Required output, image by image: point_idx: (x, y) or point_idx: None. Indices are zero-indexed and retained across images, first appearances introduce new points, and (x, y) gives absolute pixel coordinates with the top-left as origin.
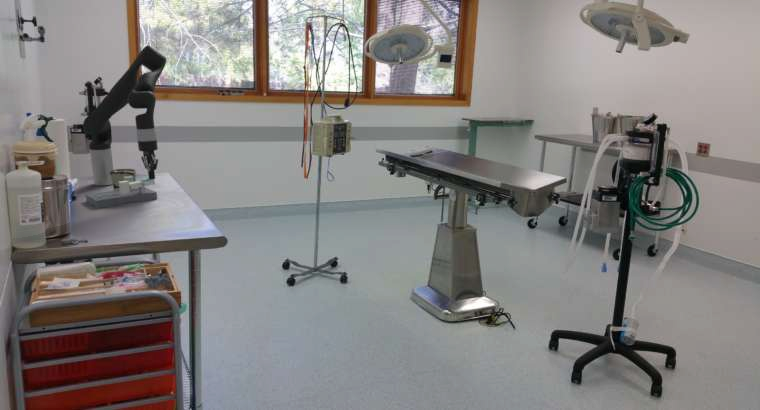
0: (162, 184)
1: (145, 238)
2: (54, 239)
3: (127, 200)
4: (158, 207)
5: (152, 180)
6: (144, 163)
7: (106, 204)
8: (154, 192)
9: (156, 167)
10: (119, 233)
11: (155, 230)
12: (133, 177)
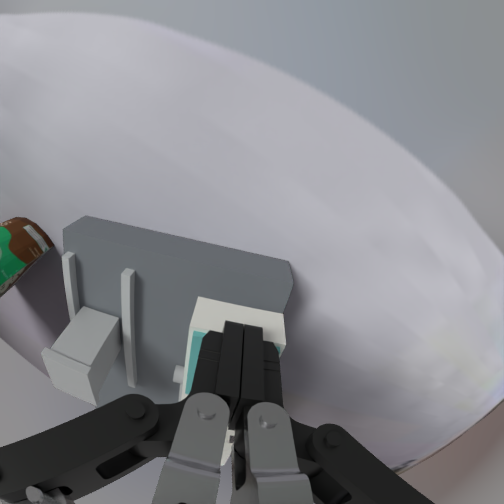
0: (9, 53)
1: (480, 414)
2: None
3: None
4: (414, 341)
5: (280, 353)
6: (113, 479)
7: None
8: (288, 295)
9: (364, 450)
10: (437, 436)
11: (483, 399)
12: (88, 373)
